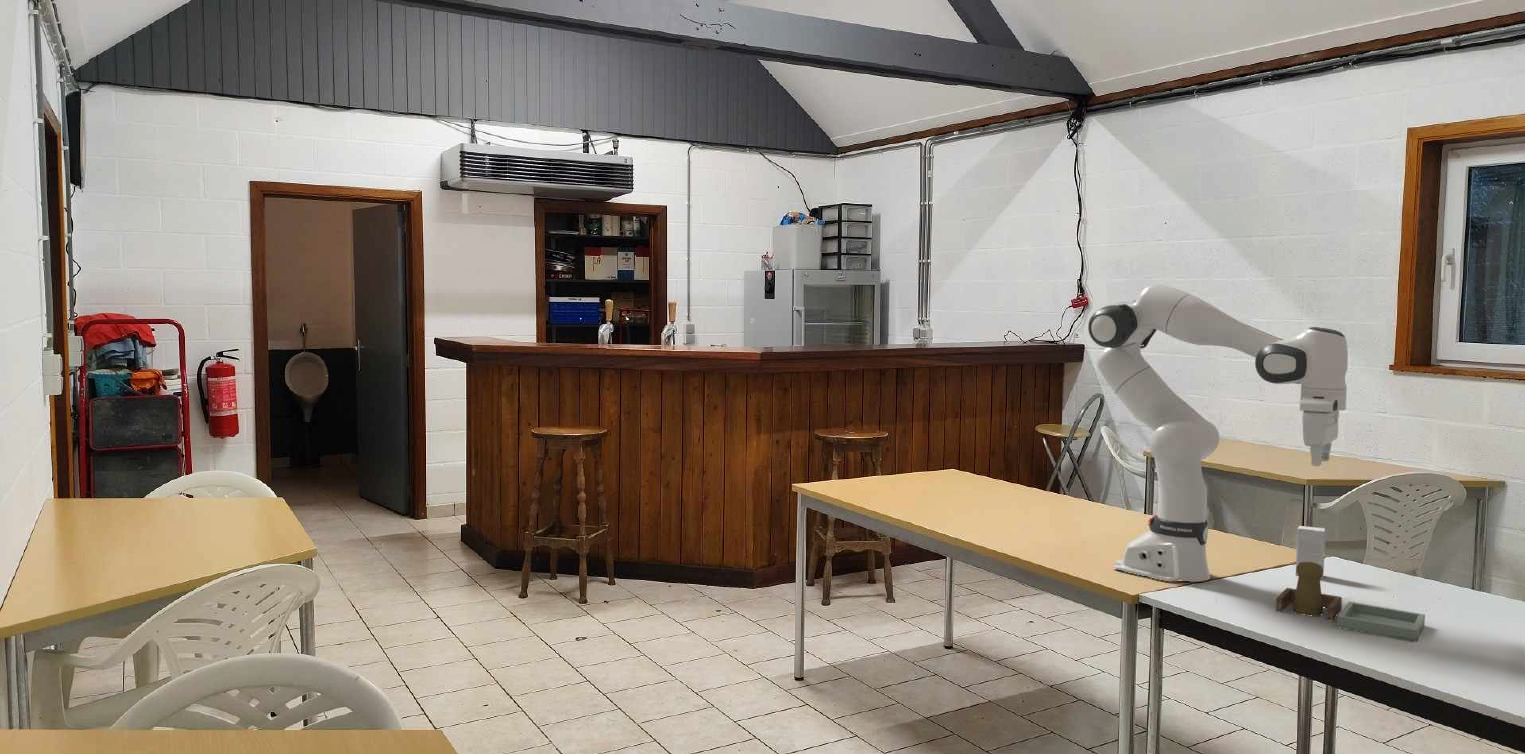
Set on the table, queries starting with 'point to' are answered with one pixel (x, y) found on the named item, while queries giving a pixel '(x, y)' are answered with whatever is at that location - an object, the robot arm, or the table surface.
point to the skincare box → (1310, 545)
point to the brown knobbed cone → (1308, 589)
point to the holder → (1327, 601)
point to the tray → (1381, 621)
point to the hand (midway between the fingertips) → (1320, 463)
